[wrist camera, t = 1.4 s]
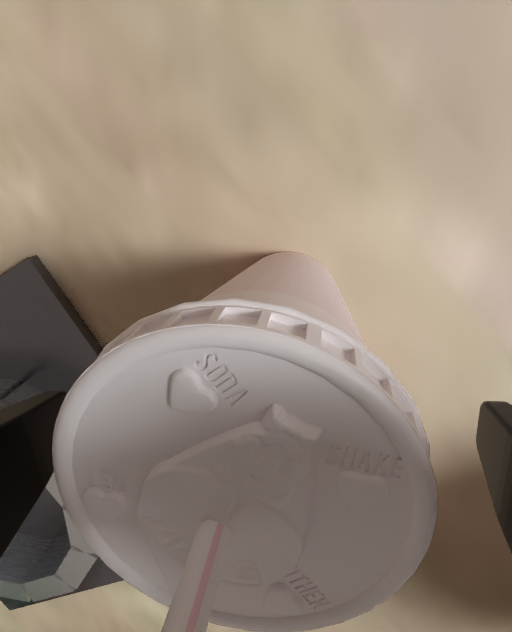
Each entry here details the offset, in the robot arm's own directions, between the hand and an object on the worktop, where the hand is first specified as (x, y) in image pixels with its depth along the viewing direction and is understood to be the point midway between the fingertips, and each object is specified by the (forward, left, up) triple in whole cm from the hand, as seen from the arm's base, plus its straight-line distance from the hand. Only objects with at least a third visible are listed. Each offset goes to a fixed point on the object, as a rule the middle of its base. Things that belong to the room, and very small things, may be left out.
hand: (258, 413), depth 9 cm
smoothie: (0, 0, -7) cm, 7 cm away
